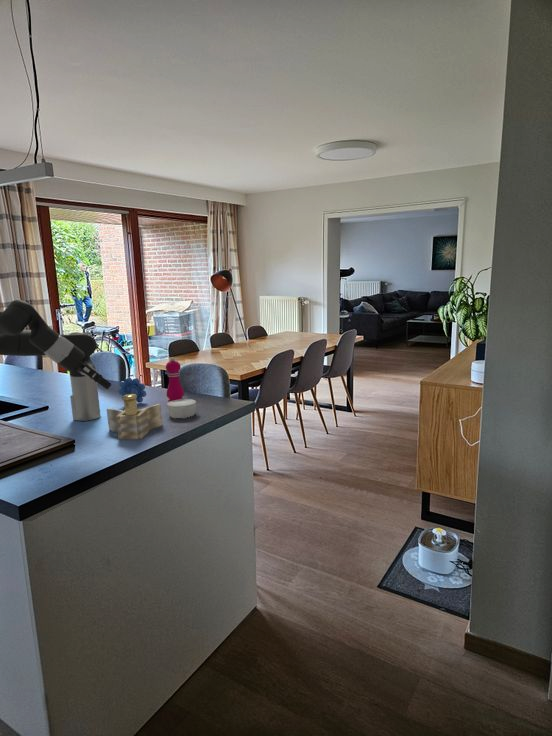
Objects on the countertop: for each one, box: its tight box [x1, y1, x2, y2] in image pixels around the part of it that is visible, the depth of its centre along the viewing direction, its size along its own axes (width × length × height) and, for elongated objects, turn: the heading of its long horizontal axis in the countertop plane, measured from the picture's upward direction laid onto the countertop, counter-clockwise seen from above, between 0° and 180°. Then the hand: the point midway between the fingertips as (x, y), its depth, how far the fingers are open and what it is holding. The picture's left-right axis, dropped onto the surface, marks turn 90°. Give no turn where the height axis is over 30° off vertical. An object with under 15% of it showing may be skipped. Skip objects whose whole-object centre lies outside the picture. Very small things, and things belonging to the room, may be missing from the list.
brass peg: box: [122, 394, 138, 415], centre depth 161 cm, size 4×4×14 cm
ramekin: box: [166, 398, 197, 419], centre depth 184 cm, size 11×11×5 cm
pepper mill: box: [165, 356, 185, 403], centre depth 200 cm, size 7×7×20 cm
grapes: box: [117, 376, 147, 404], centre depth 202 cm, size 12×7×12 cm, turn 122°
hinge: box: [106, 403, 164, 440], centre depth 166 cm, size 18×15×8 cm
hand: (106, 384), depth 154 cm, fingers open, 8 cm apart
